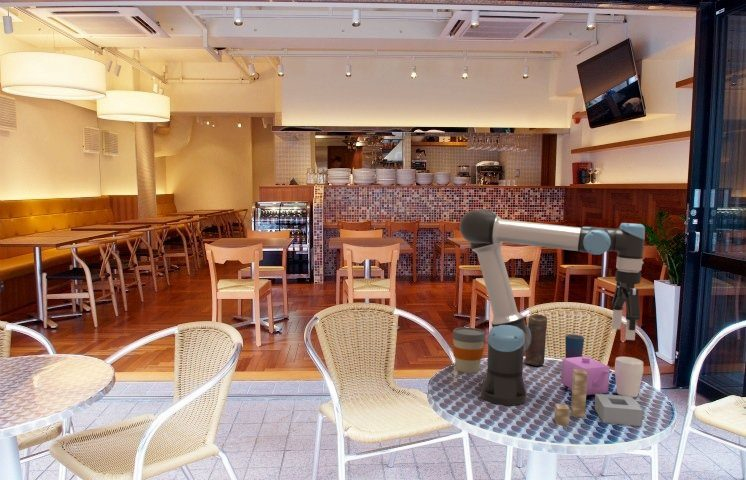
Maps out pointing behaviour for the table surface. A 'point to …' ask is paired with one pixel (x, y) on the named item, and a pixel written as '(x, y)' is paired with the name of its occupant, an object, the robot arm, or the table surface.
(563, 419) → the short peg
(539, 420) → the table surface
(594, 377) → the teapot
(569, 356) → the cup
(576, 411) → the long peg
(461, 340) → the reusable coffee cup
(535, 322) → the candle
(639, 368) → the cup
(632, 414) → the socket block
